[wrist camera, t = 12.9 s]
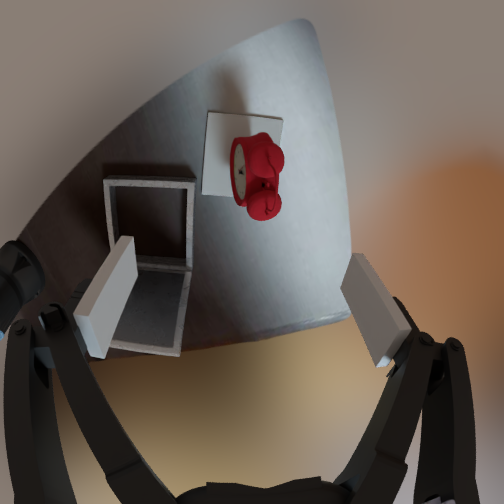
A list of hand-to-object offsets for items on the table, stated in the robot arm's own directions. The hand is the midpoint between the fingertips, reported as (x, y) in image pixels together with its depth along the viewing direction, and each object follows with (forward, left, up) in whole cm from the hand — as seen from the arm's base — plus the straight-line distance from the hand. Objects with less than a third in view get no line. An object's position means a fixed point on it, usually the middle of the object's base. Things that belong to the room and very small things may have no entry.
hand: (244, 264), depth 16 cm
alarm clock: (+2, 0, -29) cm, 29 cm away
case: (-14, -12, -29) cm, 34 cm away
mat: (0, 0, -29) cm, 29 cm away
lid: (-14, -19, -26) cm, 35 cm away
